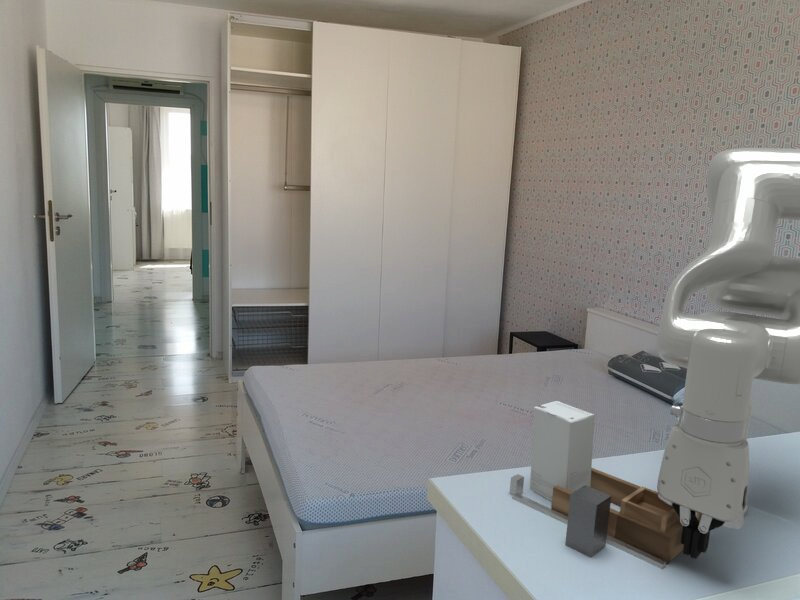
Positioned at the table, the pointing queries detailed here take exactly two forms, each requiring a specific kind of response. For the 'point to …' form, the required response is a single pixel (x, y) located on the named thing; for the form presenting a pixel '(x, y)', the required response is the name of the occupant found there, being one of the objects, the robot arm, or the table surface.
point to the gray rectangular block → (588, 520)
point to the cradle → (634, 515)
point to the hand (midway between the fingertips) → (693, 552)
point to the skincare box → (561, 448)
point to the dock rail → (517, 489)
